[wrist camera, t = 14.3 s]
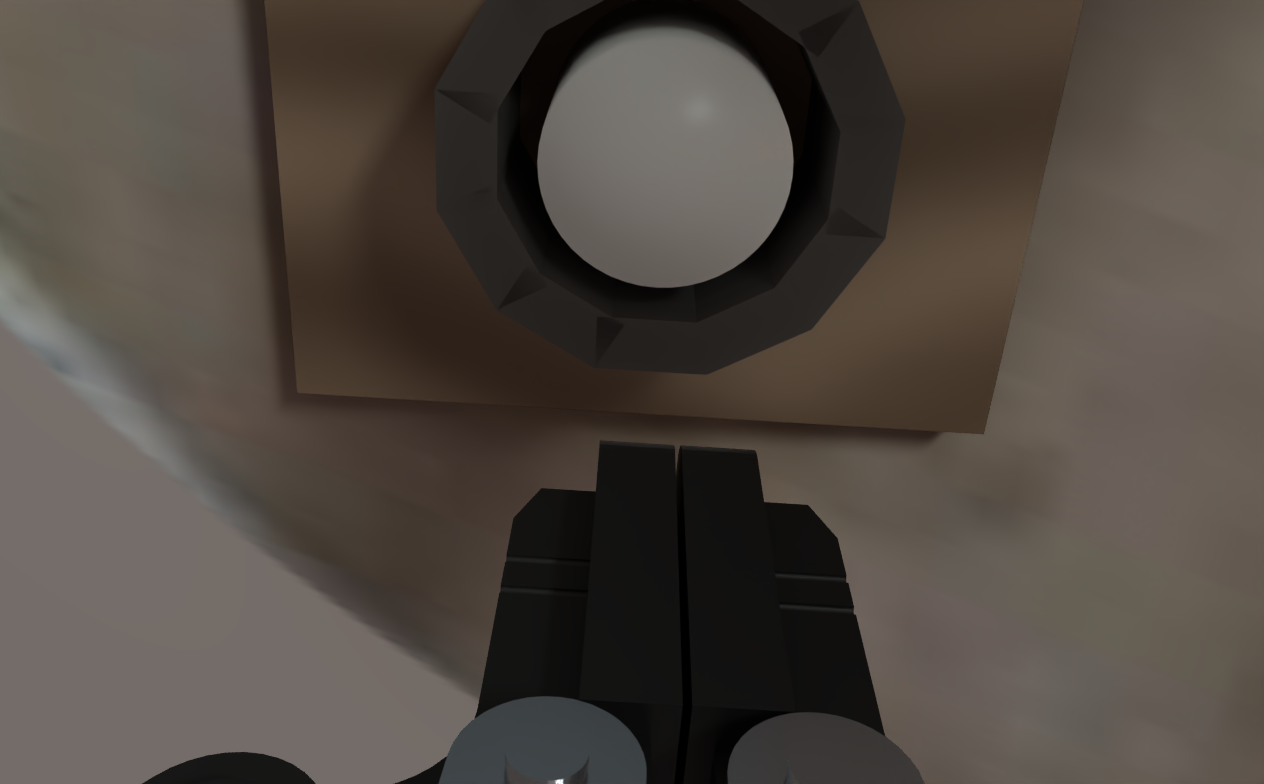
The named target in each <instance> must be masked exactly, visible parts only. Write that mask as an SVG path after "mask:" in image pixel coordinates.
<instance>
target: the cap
mask: <svg viewBox="0 0 1264 784" xmlns="http://www.w3.org/2000/svg"><path fill="white" fill-rule="evenodd" d="M537 164H538V180H539V185H540V191H541V195H542V198H543V201H544V205H545V208H546V210H547V212H548V214H549V217H550V219H551V221H552V223H553V225H554V226H555V228H556V229H557V231H558V232H559V234H560V235H561V237H562V238H563V239H564V240H565V242H566V243H567V244H568V245H569V246H570V247H571V249H572V250H573V251H575V252H576V253H577V254H578V255H579V256H580V257H581V258H582V259H583V260H585V261H586V262H588V263H589V264H590V265H592V266H593V267H595V268H596V269H598V270H600V271H602V272H603V273H605V274H607V275H609V276H611V277H614V278H616V279H619V280H622V281H624V282H628V283H632V284H636V285H640V286H647V287H656V288H673V287H681V286H689V285H693V284H697V283H701V282H704V281H707V280H710V279H712V278H715V277H718V276H720V275H722V274H723V273H725V272H727V271H729V270H731V269H733V268H734V267H736V266H737V265H739V264H740V263H741V262H743V261H744V260H746V259H747V258H748V257H749V256H750V255H751V254H752V253H754V252H755V251H756V250H757V249H758V248H759V247H760V246H761V244H762V243H763V242H764V241H765V240H766V239H767V237H768V236H769V235H770V233H771V232H772V230H773V229H774V227H775V226H776V224H777V222H778V220H779V218H780V216H781V214H782V212H783V210H784V208H785V205H786V202H787V199H788V196H789V193H790V188H791V182H792V177H793V148H792V141H791V136H790V132H789V128H788V125H787V122H786V119H785V117H784V114H783V111H782V109H781V106H780V104H779V101H778V99H777V96H776V93H775V91H774V88H773V86H772V83H771V81H770V78H769V76H768V73H767V71H766V68H765V66H764V63H763V61H762V59H761V57H760V55H759V53H758V51H757V49H756V48H755V46H754V45H753V44H752V42H751V41H750V39H749V38H748V37H747V36H746V35H745V33H744V32H743V31H742V30H741V29H740V28H739V27H738V26H737V25H736V24H734V23H733V22H732V21H731V20H729V19H728V18H727V17H725V16H724V15H722V14H720V13H719V12H717V11H715V10H714V9H711V8H709V7H707V6H704V5H702V4H700V3H696V2H692V1H689V0H639V1H636V2H632V3H629V4H626V5H624V6H621V7H619V8H617V9H615V10H613V11H611V12H609V13H608V14H606V15H604V16H603V17H601V18H600V19H599V20H597V21H596V22H595V23H594V24H592V25H591V26H590V27H589V28H588V29H587V30H586V31H585V32H584V33H583V34H582V35H581V36H580V37H579V39H578V40H577V42H576V43H575V44H574V46H573V47H572V49H571V50H570V52H569V54H568V56H567V58H566V59H565V61H564V64H563V66H562V69H561V72H560V74H559V77H558V80H557V84H556V87H555V90H554V93H553V97H552V100H551V103H550V106H549V110H548V113H547V116H546V119H545V123H544V126H543V129H542V133H541V138H540V142H539V149H538V160H537Z"/></svg>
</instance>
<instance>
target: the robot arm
mask: <svg viewBox="0 0 1264 784" xmlns="http://www.w3.org/2000/svg"><path fill="white" fill-rule="evenodd" d="M143 784H315V782H314V781H313V780H312V779H311V778H309V776H308V775H307V774H306V773H305V772H303V771H302V770H300V769H299V768H297V767H296V766H294V765H293V764H291V763H288V762H286V761H284V760H282V759H279V758H276V757H272V756H268V755H264V754H258V753H248V752H235V753H233V752H232V753H221V754H214V755H208V756H204V757H200V758H196V759H193V760H189V761H186V762H184V763H181V764H179V765H177V766H174V767H171V768H169V769H168V770H165V771H164V772H162V773H160V774H158V775H156V776H154V777H153V778H151V779H149V780H148V781H146V782H144V783H143ZM395 784H925V783H924V781H923V779H922V777H921V775H920V773H919V771H918V769H917V768H916V766H915V765H914V764H913V762H912V761H911V759H910V758H909V757H908V756H907V755H906V754H905V753H904V752H903V751H902V750H901V749H900V748H899V747H898V746H897V745H896V744H894V743H893V742H892V741H891V740H889V739H888V738H887V737H886V736H885V733H884V730H883V726H882V721H881V717H880V713H879V709H878V705H877V701H876V696H875V692H874V688H873V684H872V680H871V676H870V671H869V667H868V663H867V659H866V655H865V651H864V646H863V642H862V638H861V634H860V630H859V626H858V622H857V617H856V615H854V605H853V601H852V597H851V592H850V588H849V584H848V583H846V572H845V567H844V563H843V559H842V555H841V551H840V547H839V542H838V538H837V537H836V536H835V535H834V534H833V533H832V532H831V530H830V529H829V528H828V527H827V526H826V525H825V524H824V523H823V521H822V520H821V519H820V518H819V517H818V516H817V515H816V514H815V512H814V511H813V510H812V509H811V508H810V507H809V506H808V505H800V504H785V503H769V502H764V499H763V492H762V485H761V479H760V472H759V466H758V459H757V454H756V451H755V450H743V449H727V448H712V447H696V446H680V449H679V454H678V461H677V470H676V469H675V447H674V445H661V444H646V443H630V442H615V441H600V448H599V460H598V472H597V485H596V492H592V491H577V490H561V489H546V488H541V489H540V490H539V492H538V493H537V494H536V495H535V496H534V497H533V498H532V499H531V500H530V501H529V502H528V503H527V504H526V505H525V506H524V508H523V509H522V510H521V511H520V512H519V513H518V514H517V515H516V516H515V517H514V519H513V524H512V529H511V534H510V540H509V545H508V550H507V559H506V562H505V566H504V572H503V577H502V582H501V592H500V593H499V598H498V603H497V609H496V614H495V619H494V625H493V630H492V635H491V641H490V646H489V651H488V657H487V662H486V667H485V672H484V678H483V683H482V688H481V694H480V699H479V704H478V709H477V713H476V716H475V719H474V720H472V721H471V722H470V723H469V724H468V725H467V726H466V727H465V728H464V729H463V730H462V731H461V732H460V733H459V735H458V737H457V738H456V739H455V741H454V742H453V744H452V746H451V748H450V751H449V753H448V756H447V757H445V758H444V759H442V760H441V761H440V762H438V763H437V764H435V765H434V766H433V767H431V768H429V769H427V770H426V771H423V772H422V773H420V774H418V775H416V776H414V777H411V778H408V779H406V780H403V781H401V782H398V783H395Z"/></svg>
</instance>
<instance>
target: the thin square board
mask: <svg viewBox="0 0 1264 784" xmlns="http://www.w3.org/2000/svg"><path fill="white" fill-rule="evenodd" d="M636 1H639V0H264V4H265V16H266V28H267V40H268V51H269V63H270V75H271V87H272V99H273V111H274V123H275V135H276V147H277V158H278V170H279V182H280V194H281V206H282V218H283V230H284V242H285V253H286V265H287V277H288V289H289V301H290V313H291V325H292V337H293V349H294V360H295V372H296V384H297V393H305V394H322V395H339V396H355V397H372V398H389V399H405V400H422V401H439V402H455V403H472V404H489V405H505V406H522V407H539V408H555V409H572V410H589V411H605V412H622V413H639V414H655V415H672V416H689V417H705V418H722V419H739V420H755V421H772V422H789V423H805V424H822V425H839V426H855V427H872V428H889V429H905V430H922V431H939V432H955V433H972V434H984V431H985V427H986V423H987V418H988V414H989V410H990V405H991V401H992V397H993V392H994V388H995V384H996V379H997V375H998V371H999V366H1000V362H1001V358H1002V353H1003V349H1004V345H1005V340H1006V336H1007V332H1008V327H1009V323H1010V319H1011V314H1012V310H1013V306H1014V301H1015V297H1016V293H1017V288H1018V284H1019V280H1020V275H1021V271H1022V267H1023V262H1024V258H1025V254H1026V249H1027V245H1028V241H1029V237H1030V232H1031V228H1032V224H1033V219H1034V215H1035V211H1036V206H1037V202H1038V198H1039V193H1040V189H1041V185H1042V180H1043V176H1044V172H1045V167H1046V163H1047V159H1048V154H1049V150H1050V146H1051V141H1052V137H1053V133H1054V128H1055V124H1056V120H1057V115H1058V111H1059V107H1060V102H1061V98H1062V94H1063V89H1064V85H1065V81H1066V76H1067V72H1068V68H1069V63H1070V59H1071V55H1072V50H1073V46H1074V42H1075V37H1076V33H1077V29H1078V24H1079V20H1080V16H1081V11H1082V7H1083V3H1084V0H689V1H692V2H696V3H700V4H702V5H704V6H707V7H709V8H711V9H714V10H715V11H717V12H719V13H720V14H722V15H724V16H725V17H727V18H728V19H729V20H731V21H732V22H733V23H734V24H736V25H737V26H738V27H739V28H740V29H741V30H742V31H743V32H744V33H745V35H746V36H747V37H748V38H749V39H750V41H751V42H752V44H753V45H754V46H755V48H756V49H757V51H758V53H759V55H760V57H761V59H762V61H763V63H764V66H765V68H766V71H767V73H768V76H769V78H770V81H771V83H772V86H773V88H774V91H775V93H776V96H777V99H778V101H779V104H780V106H781V109H782V111H783V114H784V117H785V119H786V122H787V125H788V128H789V132H790V136H791V141H792V148H793V177H792V182H791V188H790V193H789V196H788V199H787V202H786V205H785V208H784V210H783V212H782V214H781V216H780V218H779V220H778V222H777V224H776V226H775V227H774V229H773V230H772V232H771V233H770V235H769V236H768V237H767V239H766V240H765V241H764V242H763V243H762V244H761V246H760V247H759V248H758V249H757V250H756V251H755V252H754V253H752V254H751V255H750V256H749V257H748V258H747V259H746V260H744V261H743V262H741V263H740V264H739V265H737V266H736V267H734V268H733V269H731V270H729V271H727V272H725V273H723V274H722V275H720V276H718V277H715V278H712V279H710V280H707V281H704V282H701V283H697V284H693V285H689V286H681V287H673V288H656V287H647V286H640V285H636V284H632V283H628V282H624V281H622V280H619V279H616V278H614V277H611V276H609V275H607V274H605V273H603V272H602V271H600V270H598V269H596V268H595V267H593V266H592V265H590V264H589V263H588V262H586V261H585V260H583V259H582V258H581V257H580V256H579V255H578V254H577V253H576V252H575V251H573V250H572V249H571V247H570V246H569V245H568V244H567V243H566V242H565V240H564V239H563V238H562V237H561V235H560V234H559V232H558V231H557V229H556V228H555V226H554V225H553V223H552V221H551V219H550V217H549V214H548V212H547V210H546V208H545V205H544V201H543V198H542V195H541V191H540V185H539V180H538V164H537V160H538V149H539V142H540V138H541V133H542V129H543V126H544V123H545V119H546V116H547V113H548V110H549V106H550V103H551V100H552V97H553V93H554V90H555V87H556V84H557V80H558V77H559V74H560V72H561V69H562V66H563V64H564V61H565V59H566V58H567V56H568V54H569V52H570V50H571V49H572V47H573V46H574V44H575V43H576V42H577V40H578V39H579V37H580V36H581V35H582V34H583V33H584V32H585V31H586V30H587V29H588V28H589V27H590V26H591V25H592V24H594V23H595V22H596V21H597V20H599V19H600V18H601V17H603V16H604V15H606V14H608V13H609V12H611V11H613V10H615V9H617V8H619V7H621V6H624V5H626V4H629V3H632V2H636Z"/></svg>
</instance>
